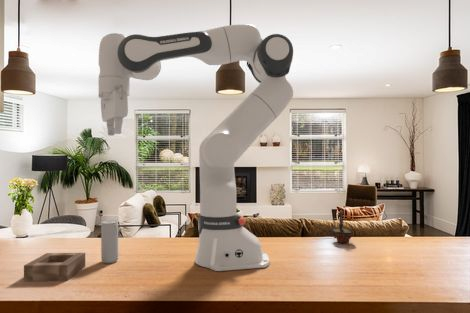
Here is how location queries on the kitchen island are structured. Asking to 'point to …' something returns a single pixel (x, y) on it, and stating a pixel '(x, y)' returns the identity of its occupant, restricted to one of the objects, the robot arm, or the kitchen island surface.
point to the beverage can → (109, 241)
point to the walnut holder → (54, 267)
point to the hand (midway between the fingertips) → (114, 134)
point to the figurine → (341, 231)
